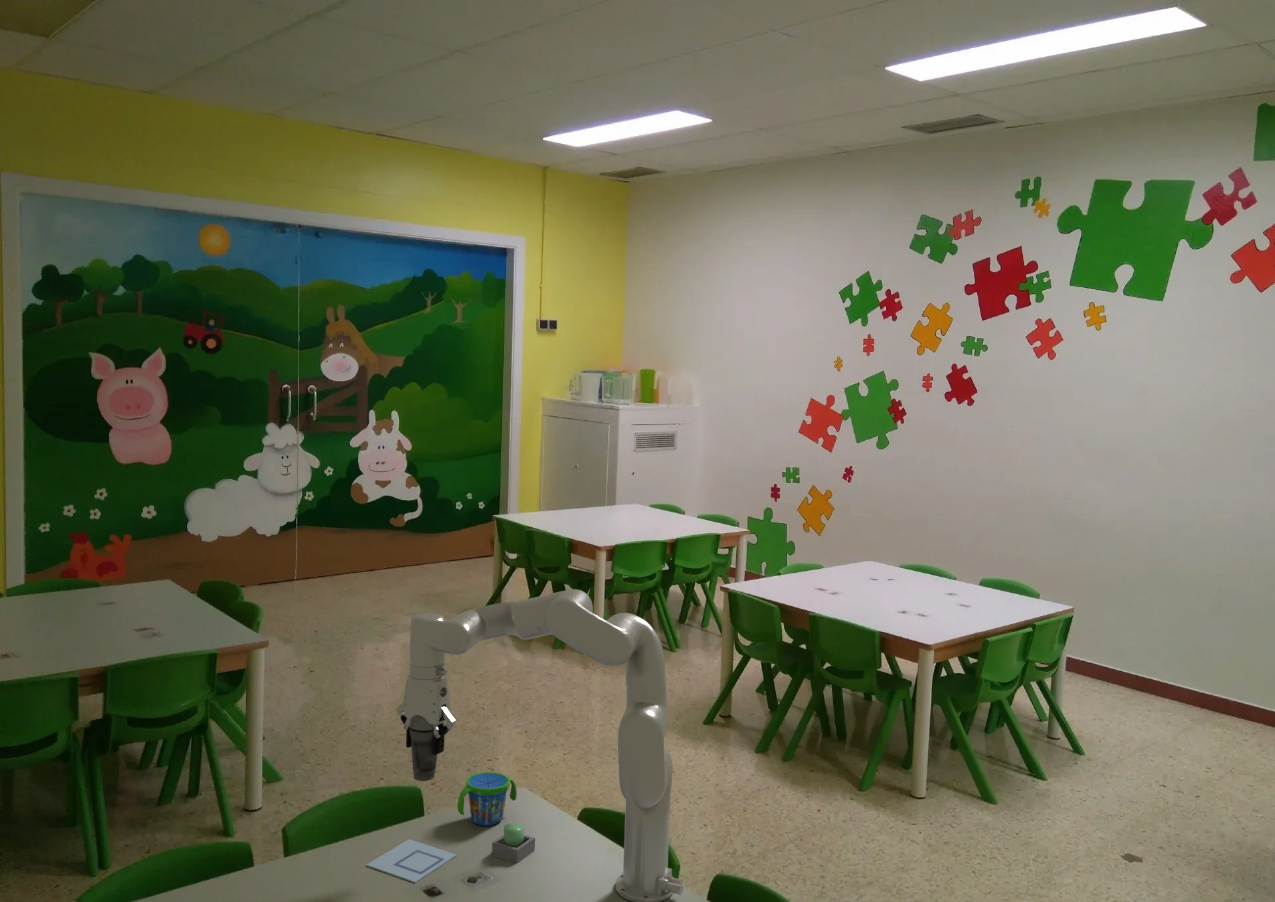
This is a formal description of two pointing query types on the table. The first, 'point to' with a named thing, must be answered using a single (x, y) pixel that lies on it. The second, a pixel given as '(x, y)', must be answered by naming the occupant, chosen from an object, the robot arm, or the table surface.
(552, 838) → the table surface
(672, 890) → the robot arm
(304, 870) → the table surface
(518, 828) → the button
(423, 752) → the beverage cup
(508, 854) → the button housing
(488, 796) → the snack cup
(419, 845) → the paper
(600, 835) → the table surface
